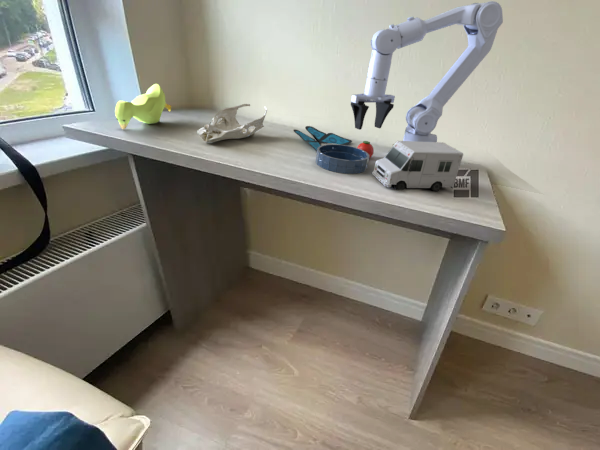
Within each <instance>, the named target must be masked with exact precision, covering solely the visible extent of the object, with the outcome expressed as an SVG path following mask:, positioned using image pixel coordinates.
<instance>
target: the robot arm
mask: <svg viewBox="0 0 600 450" xmlns="http://www.w3.org/2000/svg"><path fill="white" fill-rule="evenodd" d="M502 8H503V7H502V5H501V4H500V3H499V2H497V1H494V0H490V1H487V2H474V3H471V4H466V5H461V6H457V7H454V8H451V9H448V10H447V11H444V12H441V13H439V14H436V15H433V16H432V17H431V16H430V17H429V18H427V19H424V20H423V19H422V18H420V17H418V16H416V17H414V16H409V17H407V18H406V20H405V21H403V22H400V23H398V24H394V23H392V24H389V27H388V28H383V29H379V30H377V31H376V32H375V33H373V36H372V38H371V39H370V48H371V49H372V50H371V53H370V59H369V62H368V63H369V64H368V69H367V75H366V81H365V86H364V92H363V93H357V94H356V93H355V94H351V99H350V107H351V109H352V110H351V111H352V113H353V118H354V129H357V130H362V128H363V125H364V120H365V117H366V114H367V112H368V110H369V108H370V106H369V105H367V104H368V103H375V116H374V118H375V119H374V128H377V129H382V127H383V125H384V122H385V120H386V118H387V117H388V115H389V113H390V112H391V111H392V110H393V109H394V106H395V104H394V103H395V98H396V97H395V95H393V94H386V90H387V87H388V81H389V75H390V71H391V66H392V59H393V55H394V52H395V51H397V49H398V50H399V49H402V48H405V47H408V46H411V45H414V44H416V43H419V42H421V41H423V39H424V38H425V36H426V34H430V33H433V32H434V31H438V30H441V29H444V28H448V27H451V26H454V25H457V26H462V27H463V29H464V31H465V34H466V36H467V47H466V48H465V49H464V51H463V52H462V53H461V54H460V56H459V57H458V58H457V59H456V60H455V61H454V63H453V64H452V65H451V66H450V68H449V69H448V71H446V72H445V74H444V75H443V77H441V79H440V80H439V81H438V83H437V84H436V85H435V86H434V87H433V89H432V90H431V91H430V93H428V95H427V96H426V97H425V96H424V98H422V99H420V100H419V101H418V103H416V104H415V105H414V106H412V107H410V108H409V109H408V110H407V112H406V114H405V121H406V124H407V125H406V127H405V131H404V134H403V138H402V141H416V142H438V135H437V134H433V133H432V132H433V131H434V130H435V129H436V127H437V124H438V121H439V120H440V118H441V117H442V116H443V111H444V110H443V109H444V106H445V105H446V104H447V103H448V102H449V100H450V99H451V98H452V97H453V96H454V95H455V94H456V92H457V91H458V90H459V89H460V87H461V86H462V85H463V84H464V83H465V82H466V80H467V79H468V78H469V77H470V75H472V73H473V72H474V71H475V69H476V68H477V67H478V66H479V65H480V64H481V63H482V61H483V60H484V59H485V58H486V56H488V54H489V53H490V51H491V50H492V48H493V45H494V41H495V39H496V36H497V33H498V30H499V29H500V27H501V26H502V24H503V23H504V17H503V9H502ZM366 103H367V104H366Z"/></svg>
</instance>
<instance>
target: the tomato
mask: <svg viewBox="0 0 600 450" xmlns="http://www.w3.org/2000/svg"><path fill="white" fill-rule="evenodd" d="M356 148H359V149H362V150H364V151H366V152H367V153H368V154H369V159H371V158H372V157H373V155H374V153H375V152H374V147H373V144H371V141H368V140H363V141H362V142H360V143H359V144H358V145H357V147H356Z"/></svg>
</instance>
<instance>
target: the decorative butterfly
mask: <svg viewBox="0 0 600 450" xmlns="http://www.w3.org/2000/svg"><path fill="white" fill-rule="evenodd" d="M305 130H306V131H307V132H308V133H309V134H310V135H311V136H312V137H311V136H309V135H308V134H306V133H305V132H303V131H300V130H298V129H295V128H294V129H293V133H294V134H296V135H297V136H298V137H299V138H301V140H302V141H304V142H307V144H308V145H310V146H311V147H312V148H313V149H314V150H315V151H316V152H317V148H318V147H319V146H322V145H323V144H325V145H327V144H340V145H347V146H350V145H351V144H352V143H353V140H352V139H349V138H346V137H342V136H341V135H338V134H335V133H333V132H327V133H326V132H323V131H321V130H319V129H317V128H316V127H314V126H311V125H307V126H305Z"/></svg>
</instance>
